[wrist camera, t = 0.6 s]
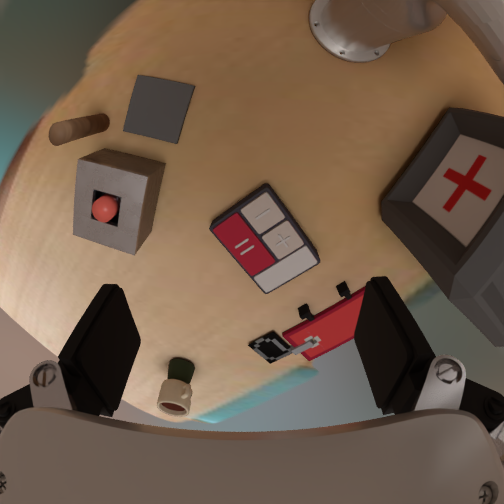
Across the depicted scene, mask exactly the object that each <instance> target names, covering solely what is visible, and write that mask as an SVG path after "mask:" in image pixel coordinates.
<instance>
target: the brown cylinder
mask: <svg viewBox="0 0 504 504" xmlns="http://www.w3.org/2000/svg"><path fill="white" fill-rule="evenodd" d="M108 127H109V118H108V116H107V115H105V114H97V115H91V116H86V117H80V118H75V119H70V120H65V121H61V122H56V123H54V124H53V125H52V126H51V127H50V130H49V140H50V142H51V143H52V144H53V145H55V146H59V145H62V144H64V143H67V142H70V141H73V140H77V139H80V138H83V137H86V136H90V135H93V134H96V133H100V132H103V131H105V130H107V128H108Z"/></svg>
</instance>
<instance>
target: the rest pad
mask: <svg viewBox="0 0 504 504" xmlns="http://www.w3.org/2000/svg"><path fill="white" fill-rule="evenodd" d="M194 88H195V86H193V85H189V84H184V83H180V82H175V81H170V80H165V79H159V78H154V77H148V76H142V75H138V76H137V79H136V83H135V86H134V89H133V93H132V97H131V100H130V104H129V108H128V112H127V116H126V120H125V124H124V129H123V131H125V132H129V133H134V134H138V135H143V136H147V137H151V138H155V139H159V140H163V141H167V142H171V143H175V144H177V143H178V140H179V137H180V133H181V130H182V126H183V123H184V120H185V116H186V113H187V110H188V107H189V104H190V100H191V97H192V94H193V91H194Z"/></svg>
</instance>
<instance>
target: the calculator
mask: <svg viewBox="0 0 504 504" xmlns="http://www.w3.org/2000/svg"><path fill="white" fill-rule="evenodd" d="M209 229H210V231H211V232H212V233H213V234H214V235H215V237H216V238H217V239H218V240H219V241H220V243H221V244H222V245H223V246H224V247H225V248H226V250H227V251H228V252H229V253H230V254H231V255H232V257H233V258H234V259H235V260H236V261H237V262H238V264H239V265H240V266H241V267H242V268H243V269H244V271H245V272H246V273H247V274H248V275H249V276H250V277H251V279H252V280H253V281H254V282H255V283H256V284H257V286H258V287H259V288H260V289H261V290H262V291H263V292H264V293H265V294H268V293H270V292H271V291H273V290H275V289H277V288H278V287H280V286H282V285H284V284H285V283H287V282H289V281H290V280H292V279H294V278H296V277H297V276H299V275H301V274H302V273H304V272H306V271H307V270H309V269H311V268H312V267H314V266H316V265H317V264H319V263H320V258H319V255H318V252H317V250H316V249H315V247H314V246H313V244H312V243H311V241H310V240H309V239H308V237H307V236H306V234H305V233H304V232H303V231H302V229H301V228H300V226H299V225H298V223H297V222H296V221H295V219H294V218H293V216H292V215H291V214H290V212H289V211H288V209H287V208H286V207H285V205H284V204H283V203H282V201H281V200H280V198H279V197H278V196H277V194H276V193H275V192H274V190H273V189H272V188H271V186H270V185H269V184H268V183H266V184H264V185H262V186H261V187H259V188H258V189H256V190H255V191H254V192H252V193H251V194H249V195H248V196H246V197H245V198H244V199H242V200H241V201H239V202H238V203H237V204H235V205H234V206H232V207H231V208H230V209H228V210H227V211H225V212H224V213H223V214H221V215H220V216H218V217H217V218H216V219H214V220H213V221H212V223H211V225H210V228H209Z"/></svg>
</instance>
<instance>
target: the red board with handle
mask: <svg viewBox="0 0 504 504" xmlns="http://www.w3.org/2000/svg"><path fill="white" fill-rule="evenodd" d="M365 287H366V286H365ZM365 287H363V288H361V289H360V290H358V291H356V292H355V293H353V294H351V295H350V290H349V288H348V286H347V284H346V283H345V281H344V282H342V283H341V284H339V285H337V286H336V288H337V290H338V292H339V295H340V296H341V297H343V296H345V297H346V298H344V299H343V300H341V301H339V302H338V303H336V304H334V305H332V306H331V307H329V308H327V309H325V310H324V311H322V312H320V313H318V314H317V315H315V316H313V315H312V314H311V313H310V310H309V306H308V305H307V304H304V305H302V306H301V307H299V308H298V311H299V315H300V318H301V319H302V320H303V319H305V318H307V319H308V320H306V321H304V322H302V323H300V324H298V325H297V326H295V327H293V328H291V329H289V330H287V331H285V332H283V333H282V335H283V337H284V338H285V339H286V340H287V341H288V342H289V343H290V344H291V346H290V347H291V348H290V347H289V346H288V345H287V344H286V343H285V342H284V341H283V340H282V339H281V338H279V337H278V336H277V335H276V334H275V333H274V332H272V333H270V334H269V335H267V336H265V337H263V338H261V339H259V340H257V341H255V342H253V343H251V344H249V345H248V346H249V347H251V348H252V349H253V350H254V351H255V352H257V353H258V354H259V355H260V356H262V357H263V358H264V359H265V360H267V361H268V362H269V363H270V364H271V363H273V362H275V361H277V360H279V359H281V358H283V357H286V356H288V355H290V354H292V353H294V354H295V355H297V354H299V353H301V354H302V355H303V356H304V357H305V358H306V359H307V360H308V361H311V360H313V359H315V358H317V357H319V356H321V355H323V354H325V353H327V352H329V351H331V350H333V349H335V348H336V347H338V346H340V345H342V344H344V343H346V342H348V341H350V340H351V339H353V338H354V332H355V328H356V324H357V320H358V316H359V312H360V308H361V304H362V300H363V296H364V291H365ZM312 338H314V339H315V340H314V341H313V340H312Z"/></svg>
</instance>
